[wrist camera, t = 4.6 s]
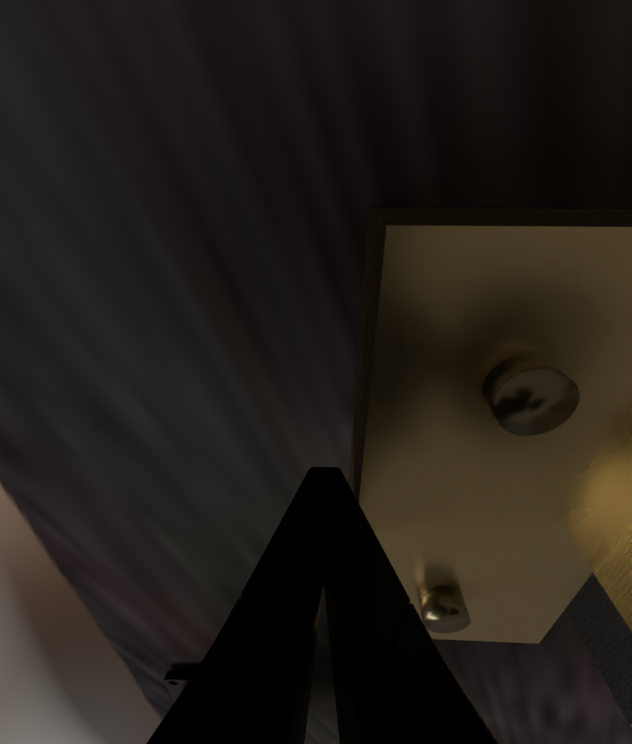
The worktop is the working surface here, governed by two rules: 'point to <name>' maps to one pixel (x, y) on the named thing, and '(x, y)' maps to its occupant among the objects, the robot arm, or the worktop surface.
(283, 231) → the worktop surface
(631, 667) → the fixed steel leaf
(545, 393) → the brass leaf
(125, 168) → the worktop surface
